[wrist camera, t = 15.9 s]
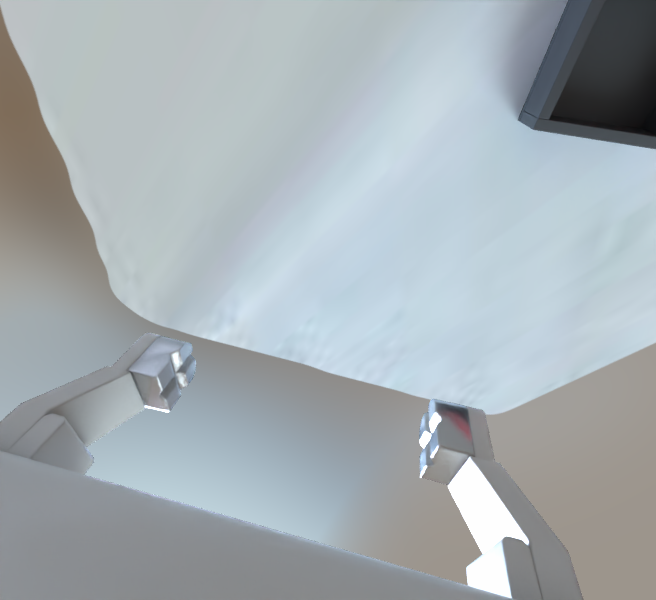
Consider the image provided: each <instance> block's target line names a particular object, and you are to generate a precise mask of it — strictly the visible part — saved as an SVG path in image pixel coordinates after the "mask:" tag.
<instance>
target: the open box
mask: <svg viewBox="0 0 656 600" xmlns="http://www.w3.org/2000/svg"><path fill="white" fill-rule="evenodd" d="M518 121H520V122H522V123H523V124H525V125H526V126H528V127H530V128H531V129H533V130H538V131H544V132H551V133H557V134H563V135H570V136H576V137H582V138H588V139H595V140H601V141H607V142H614V143H620V144H626V145H632V146H639V147H645V148H651V149H656V0H568V3H567V5H566V7H565V10H564V12H563V14H562V17H561V19H560V22H559V24H558V26H557V29H556V31H555V33H554V36H553V38H552V41H551V43H550V45H549V48H548V50H547V52H546V55H545V57H544V59H543V62H542V64H541V67H540V69H539V71H538V74H537V76H536V78H535V81H534V83H533V86H532V88H531V90H530V93H529V95H528V97H527V100H526V102H525V104H524V107H523V109H522V112H521V114H520V116H519V119H518Z"/></svg>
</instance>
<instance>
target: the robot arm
mask: <svg viewBox="0 0 656 600" xmlns="http://www.w3.org/2000/svg"><path fill="white" fill-rule="evenodd" d="M192 351H193V348H192V345H191V343H188V342H184V341H180V340H176V339H172V338H169V337H165V336H161V335H156V334H152V333H146V334H144V335H142V336H141V337H140V338H139V339H138V340H137V341H136V342H135V343H134V344H133V345H132V346H131V347H130V348H129V350H127V351H126V352H125V353H124V355H123V356H121V358H120V359H119V360H118V361H117V362H116V363H115V364H114V365H113V366H112V367H108V366H106V367H104V368H102V369H99V370H97V371H95V372H92V373H90V374H88V375H86V376H83V377H81V378H79V379H76V380H74V381H72V382H70V383H67V384H65V385H63V386H60V387H58V388H55V389H53V390H51V391H49V392H46V393H44V394H42V395H39V396H37V397H35V398H32V399H30V400H28V401H25V402H23V403H21V404H20V405H19V406H18V407H17V408H15V409H14V410H13V411H12V412H11V413H10V414H8V415H7V416H6V417H5V418H4V419H3V420H2V421H0V600H583V597H582V594H581V591H580V587H579V584H578V581H577V578H576V575H575V571H574V568H573V565H572V562H571V559H570V555H569V552H568V550H567V549H566V548H565V547H564V545H563V544H562V543H561V541H560V540H559V539H558V538H557V536H556V535H555V533H554V532H553V531H552V530H551V528H550V527H549V526H548V525H547V523H546V522H545V521H544V519H543V518H542V517H541V515H540V514H539V513H538V511H537V510H536V509H535V508H534V506H533V505H532V504H531V502H530V501H529V500H528V499H527V497H526V496H525V495H524V494H523V492H522V491H521V490H520V488H519V487H518V486H517V484H516V483H515V482H514V481H513V479H512V478H511V477H510V475H509V474H508V473H507V472H506V470H505V469H504V468H503V467H502V465H501V464H500V463H497V462H495V459H494V454H493V450H492V445H491V440H490V435H489V430H488V426H487V421H486V416H485V413H484V411H483V410H480V409H476V408H472V407H467V406H464V405H460V404H455V403H451V402H446V401H442V400H437V399H432V400H431V401H430V403H429V412H427V413H425V414H424V416H423V418H422V421H421V426H420V435H419V440H420V441H419V442H420V444H421V446H422V447H423V451H422V453H421V454H420V477H421V478H425V479H428V480H432V481H435V482H439V483H443V484H446V485H448V488H449V490H450V492H451V494H452V496H453V498H454V500H455V501H456V503H457V505H458V507H459V509H460V511H461V513H462V515H463V517H464V519H465V521H466V523H467V524H468V526H469V528H470V530H471V532H472V534H473V536H474V538H475V540H476V542H477V544H478V546H479V548H480V549H481V551H482V553H483V554H482V555H481V556H480V557H478V558H477V559H476V560H475V561H473V562H472V563H471V564H470V565H469V566H468V567H467V568H466V569H467V580H468V585H464V584H461V583H457V582H454V581H450V580H447V579H443V578H440V577H436V576H433V575H429V574H426V573H423V572H419V571H416V570H412V569H409V568H406V567H402V566H399V565H395V564H392V563H388V562H385V561H381V560H378V559H374V558H371V557H368V556H364V555H361V554H357V553H354V552H350V551H347V550H343V549H340V548H336V547H333V546H330V545H326V544H322V543H319V542H316V541H312V540H309V539H305V538H302V537H298V536H295V535H291V534H288V533H285V532H281V531H278V530H274V529H271V528H267V527H264V526H260V525H257V524H253V523H250V522H247V521H243V520H240V519H236V518H233V517H229V516H226V515H222V514H219V513H215V512H212V511H208V510H205V509H202V508H198V507H195V506H191V505H187V504H184V503H181V502H177V501H174V500H170V499H167V498H163V497H160V496H156V495H153V494H149V493H146V492H142V491H139V490H136V489H132V488H129V487H125V486H122V485H118V484H115V483H112V482H108V481H105V480H101V479H98V478H94V477H91V476H87V475H85V473H86V472H87V471H88V469H89V468H90V467H91V466H92V464H93V463H94V457H93V456H92V455H91V453H90V452H89V450H88V449H87V448H86V447H88V446H89V445H91V444H92V443H94V442H95V441H97V440H98V439H100V438H101V437H103V436H104V435H106V434H108V433H109V432H111V431H112V430H114V429H115V428H117V427H118V426H120V425H121V424H123V423H124V422H126V421H127V420H129V419H130V418H132V417H133V416H135V415H136V414H138V413H140V412H141V411H143V410H144V409H145V407H147V408H152V409H156V410H161V411H165V412H170V411H171V409H172V408H173V406H174V405H175V404H176V402H177V401H178V399H179V398H180V397H181V393H180V389H182V388H184V387H186V386H188V385H189V383H190V382H191V380H192V379H193V376H194V374H195V370H196V361H195V359H194V357H193V356H192V355H191V354H190V353H191V352H192Z"/></svg>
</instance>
